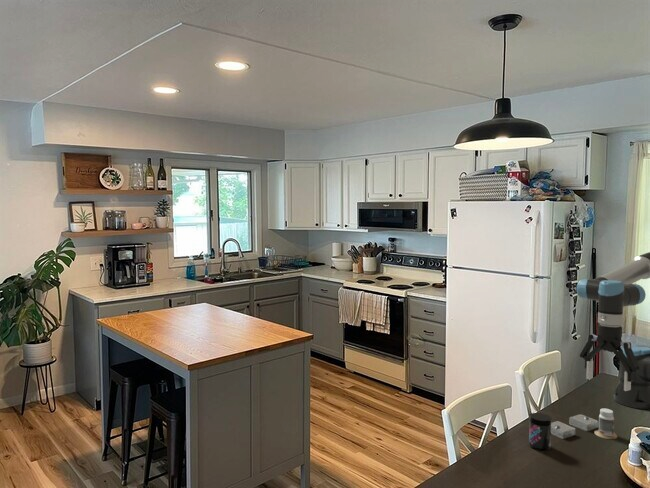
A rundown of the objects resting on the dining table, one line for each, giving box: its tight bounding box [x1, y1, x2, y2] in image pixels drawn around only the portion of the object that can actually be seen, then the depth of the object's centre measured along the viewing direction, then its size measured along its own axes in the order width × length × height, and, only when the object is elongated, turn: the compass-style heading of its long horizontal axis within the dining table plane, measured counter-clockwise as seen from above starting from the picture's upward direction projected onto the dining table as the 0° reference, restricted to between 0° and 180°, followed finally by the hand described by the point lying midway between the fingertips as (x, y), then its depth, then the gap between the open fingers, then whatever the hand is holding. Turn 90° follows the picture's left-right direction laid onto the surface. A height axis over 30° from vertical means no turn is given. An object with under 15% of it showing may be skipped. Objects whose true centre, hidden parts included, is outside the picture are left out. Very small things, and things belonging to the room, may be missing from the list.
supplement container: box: [528, 412, 552, 452], centre depth 166 cm, size 7×7×10 cm
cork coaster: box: [594, 429, 618, 440], centre depth 175 cm, size 7×7×1 cm
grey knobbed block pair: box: [551, 414, 599, 440], centre depth 180 cm, size 20×7×3 cm, turn 118°
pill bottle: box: [598, 407, 615, 436], centre depth 175 cm, size 5×5×8 cm
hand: (607, 384), depth 174 cm, fingers open, 13 cm apart
